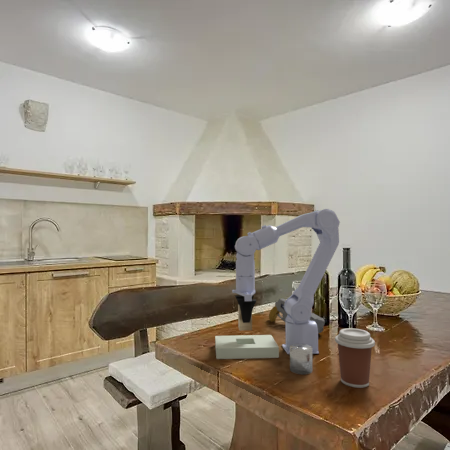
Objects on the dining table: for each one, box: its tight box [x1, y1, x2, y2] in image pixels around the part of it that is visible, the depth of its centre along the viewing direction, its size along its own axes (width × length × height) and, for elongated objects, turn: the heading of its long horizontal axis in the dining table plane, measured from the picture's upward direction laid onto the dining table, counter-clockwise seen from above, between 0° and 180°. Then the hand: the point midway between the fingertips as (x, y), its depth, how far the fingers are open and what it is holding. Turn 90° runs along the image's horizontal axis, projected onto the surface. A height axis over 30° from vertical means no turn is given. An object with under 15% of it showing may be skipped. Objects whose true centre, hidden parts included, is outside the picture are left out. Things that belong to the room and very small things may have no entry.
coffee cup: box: [334, 327, 376, 389], centre depth 86 cm, size 9×9×12 cm
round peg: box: [289, 344, 313, 375], centre depth 93 cm, size 6×6×6 cm
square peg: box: [237, 303, 253, 332], centre depth 107 cm, size 4×4×7 cm
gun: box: [268, 297, 326, 334], centre depth 133 cm, size 3×25×15 cm, turn 36°
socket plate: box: [214, 334, 280, 360], centre depth 107 cm, size 18×12×3 cm, turn 93°
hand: (245, 320), depth 107 cm, fingers closed on square peg, 4 cm apart
